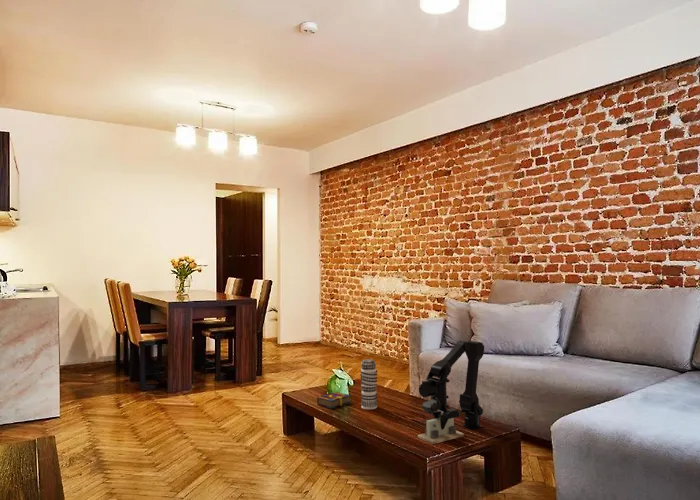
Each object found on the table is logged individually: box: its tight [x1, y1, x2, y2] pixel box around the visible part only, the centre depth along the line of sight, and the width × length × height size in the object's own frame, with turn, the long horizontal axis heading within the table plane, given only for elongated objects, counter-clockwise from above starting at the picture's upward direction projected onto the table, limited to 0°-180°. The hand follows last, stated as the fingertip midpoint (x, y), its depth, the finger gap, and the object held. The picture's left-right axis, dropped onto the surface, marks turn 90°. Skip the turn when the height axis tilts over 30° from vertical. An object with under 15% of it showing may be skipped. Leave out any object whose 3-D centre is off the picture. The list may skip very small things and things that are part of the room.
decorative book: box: [316, 391, 351, 410], centre depth 277 cm, size 11×16×5 cm
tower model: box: [359, 358, 378, 410], centre depth 269 cm, size 9×9×25 cm
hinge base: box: [417, 425, 465, 445], centre depth 223 cm, size 18×10×4 cm, turn 121°
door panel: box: [425, 418, 455, 438], centre depth 222 cm, size 14×3×7 cm, turn 121°
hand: (440, 428), depth 223 cm, fingers closed on door panel, 2 cm apart
